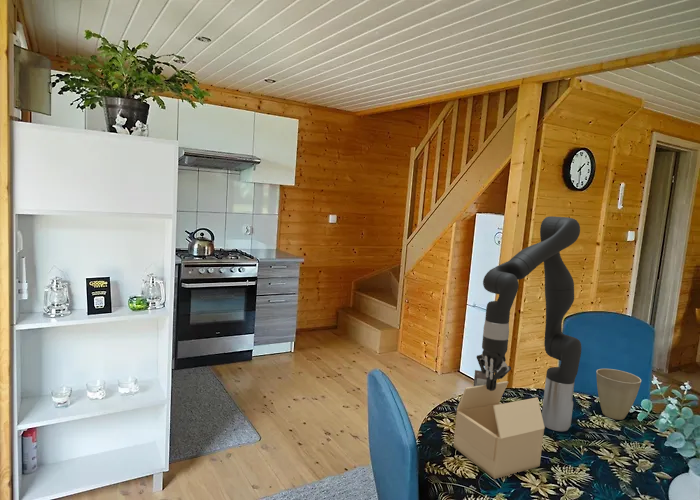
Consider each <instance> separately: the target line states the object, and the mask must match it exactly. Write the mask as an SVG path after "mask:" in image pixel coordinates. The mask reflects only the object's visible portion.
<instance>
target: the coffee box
mask: <svg viewBox="0 0 700 500" xmlns="http://www.w3.org/2000/svg"><path fill="white" fill-rule="evenodd" d="M486 381H487V377H486V375H485V374H483V373H482V371H481V370H477V369H475V370H474V377H473V386H480V385H486Z"/></svg>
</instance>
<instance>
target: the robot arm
mask: <svg viewBox="0 0 700 500" xmlns="http://www.w3.org/2000/svg"><path fill="white" fill-rule="evenodd" d="M539 230H540V231H539V237H540V241H539V242H538V243H535V244H532V245H529V246H527V247H525V248H523V249H521V250H520V251H518V252H517V253H516V254H515V255H514V256H513V257H511V258H510V259H509V260H508V261H505V262H503V263H500V264H499V265H496V266H495V267H492V268H491V269H489V271H487V273H486V274H485V275H484V277H483V281H482V285H483V288H484V290H485V291H487V292H488V293H492V294H496V295H498V298H497V299H496V300H492V301H489V302H488V303H486V308H485V310H486V311H485V317H484V318H485V319H484V325H483V332H482V344H481V348H482V352H481V354H478V355H476V360H477V362H478V366H479V369H480V371H482V373H483V374H485V375H486V377H487V381H486V387H487V389H488V390H490V391H493V390H495V389H496V383H498V380H502V379H503V378H504V377H505V376H506V375H507V374H508V373H509V372H510V371H511V370H512V367H511V366H510V365H507V363H506V361H507V358H506V353H507V352H508V347H509V335H510V315H511V308H512V306H513V305H514V301H515V298H516V296H517V294H518V291H519V285H520V284H519V280H523V279H525V278H526V277H527V276H528V275H530V273H532V272H533V271H535V269H536V268H537V267H538V266H540V265H541V264H542V263H543V270H544V296H545V297H544V298H545V299H544V300H545V327H544V343H543V345H544V351H545V353H546V355H547V356H549V357H550V358H552V359H556V360H558V361H560V365H559V366H552V367H548V368H547V370H546V375H545V384H544V393H543V400H542V408H541V409H542V410H541V414H542V418H543V423H544V427H545V428H547V429H549V430H552V431H556V432H567V431H568V430H569V429H570V428H571V426H572V425H571V424H572V416H573V411H574V410H573V409H574V401H573V396H574V388H575V380H576V378H577V375H578V372H579V366H580V360H581V355H582V349H583V348H582V343H581V341H580V339H578V338H577V337H574V336H572V335H571V336H570V335H568V334H565V333H563V330H562V327H563V326H562V325H563V324H562V323H563V319H564V317H565V315H566V314H567V313H568V312H569V310H570V309H571V307H572V306H573V304H574V301H575V282H574V278H573V277H572V274H571V273H570V270H569V269H568V268H567V266H566V264H565V263H564V261H563V259H562V256H561V253H560V252H562V251H563V250H565V249H566V248H569V247H570V246H572V245H573V244H574V243H576V241H577V240H578V239H579V237H580V233H581V227H580V223H579V221H578V220H577V219H575V218H571V217H565V216H564V217H563V216H553V215H552V216H550V215H549V216H546V217H545V218H544V219H543V220H542V222H541V223H540V228H539Z"/></svg>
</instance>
